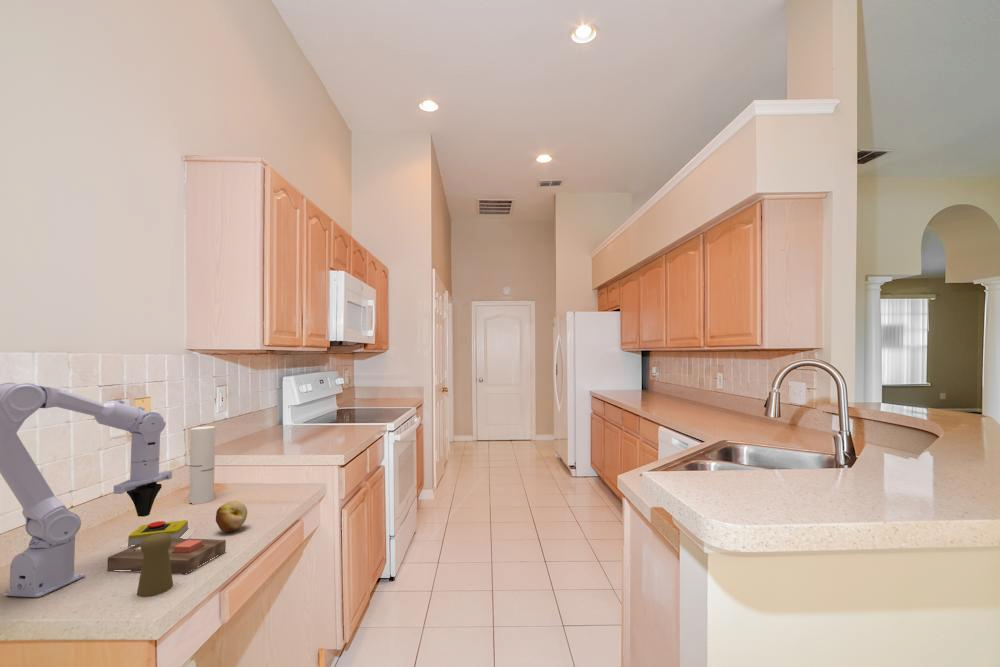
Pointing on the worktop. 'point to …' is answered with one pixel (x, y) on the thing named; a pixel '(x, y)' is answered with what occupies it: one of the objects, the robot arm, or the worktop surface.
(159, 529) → the emergency button
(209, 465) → the cylindrical container
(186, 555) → the walnut plunger housing
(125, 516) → the worktop surface
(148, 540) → the olive tall tapered piece
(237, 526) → the fruit
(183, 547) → the salmon red square block
